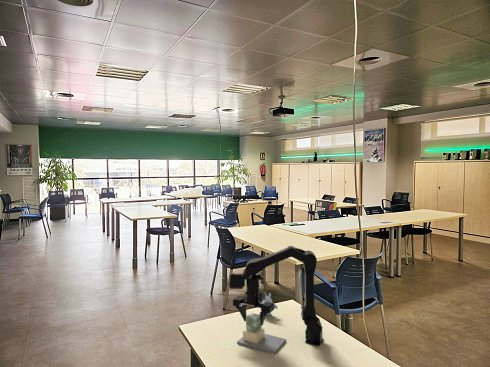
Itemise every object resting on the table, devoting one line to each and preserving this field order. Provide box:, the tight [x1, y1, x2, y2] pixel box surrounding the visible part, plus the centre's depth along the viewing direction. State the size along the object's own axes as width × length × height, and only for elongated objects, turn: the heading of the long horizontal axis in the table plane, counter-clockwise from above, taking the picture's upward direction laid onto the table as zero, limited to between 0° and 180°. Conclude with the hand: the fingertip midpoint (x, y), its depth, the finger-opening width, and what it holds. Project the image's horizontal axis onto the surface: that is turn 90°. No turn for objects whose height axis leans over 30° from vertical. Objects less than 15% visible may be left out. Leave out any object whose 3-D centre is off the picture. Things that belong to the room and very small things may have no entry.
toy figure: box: [261, 292, 278, 317], centre depth 175 cm, size 11×6×12 cm, turn 75°
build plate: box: [236, 326, 287, 355], centre depth 148 cm, size 18×12×5 cm, turn 60°
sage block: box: [245, 312, 262, 333], centre depth 150 cm, size 5×5×6 cm
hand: (253, 323), depth 150 cm, fingers open, 8 cm apart
